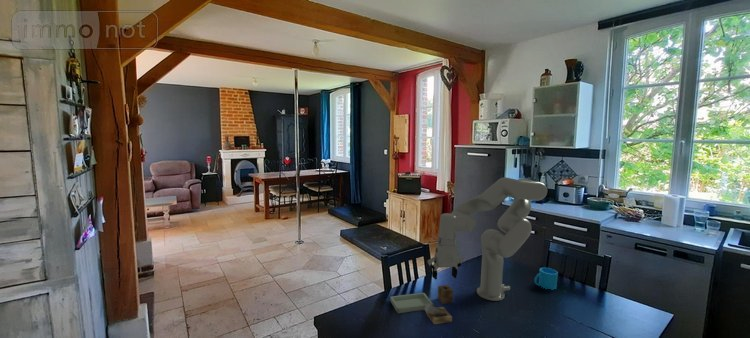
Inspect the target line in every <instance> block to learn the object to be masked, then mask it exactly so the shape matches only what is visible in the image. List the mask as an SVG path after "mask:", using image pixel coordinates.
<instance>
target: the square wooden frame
mask: <svg viewBox="0 0 750 338" xmlns="http://www.w3.org/2000/svg"><path fill="white" fill-rule="evenodd" d="M437 308H440V309H442V310H444V311H445V312H446V314H445V316H441V317H437V316H435V315H432V314H430V313H427V312H426V311H425V314H426V316H427V317H428V318H429V320H430V321H431V322H432V324H433V325H439V324H447V323H452V322H453V316H452V315H451V314H450V313H449V311H447V309H446V308H445V307H444V306H438V307H437Z"/></svg>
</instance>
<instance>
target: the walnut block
mask: <svg viewBox="0 0 750 338" xmlns="http://www.w3.org/2000/svg"><path fill="white" fill-rule="evenodd" d="M453 298H454V290H453V288H452V287H451V286H450V285H448V284H445V285H444V284H443V285H438V286H437V299H438V301H439V302H440V303H441V304H442V305H443V304H445V305H446V304H451V303H453V301H454V299H453Z"/></svg>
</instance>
